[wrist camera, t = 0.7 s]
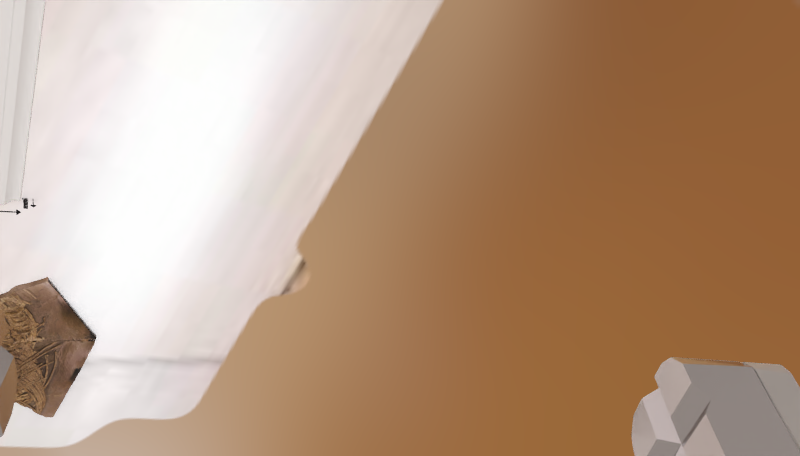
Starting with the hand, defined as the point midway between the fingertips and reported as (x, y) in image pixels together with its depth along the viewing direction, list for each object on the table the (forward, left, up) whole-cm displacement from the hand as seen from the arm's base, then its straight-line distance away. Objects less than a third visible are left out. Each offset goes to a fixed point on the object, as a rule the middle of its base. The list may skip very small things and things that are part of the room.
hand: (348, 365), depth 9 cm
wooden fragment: (+64, -23, -49) cm, 84 cm away
